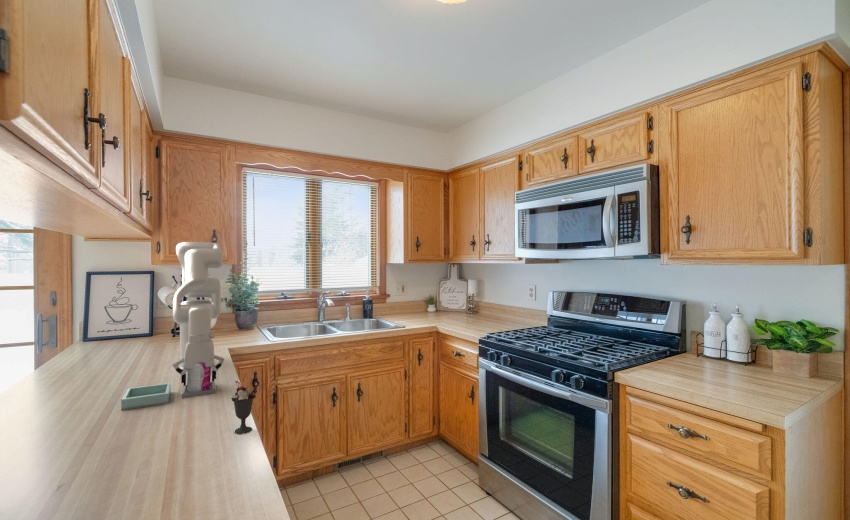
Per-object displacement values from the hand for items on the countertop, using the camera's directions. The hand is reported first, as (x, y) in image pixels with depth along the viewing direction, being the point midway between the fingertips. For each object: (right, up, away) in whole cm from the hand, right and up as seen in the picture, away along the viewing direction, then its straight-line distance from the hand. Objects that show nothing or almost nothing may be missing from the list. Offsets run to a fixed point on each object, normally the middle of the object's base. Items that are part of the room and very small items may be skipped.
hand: (199, 382), depth 150 cm
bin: (-12, -3, -11) cm, 17 cm away
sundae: (+33, -4, -34) cm, 48 cm away
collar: (0, -3, 0) cm, 3 cm away
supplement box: (0, -3, 0) cm, 3 cm away
